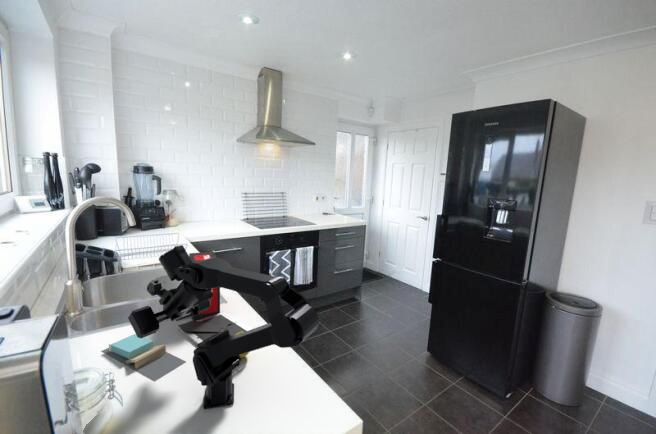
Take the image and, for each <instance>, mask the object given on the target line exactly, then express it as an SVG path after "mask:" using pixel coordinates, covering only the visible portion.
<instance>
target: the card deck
mask: <svg viewBox="0 0 656 434" xmlns="http://www.w3.org/2000/svg"><path fill="white" fill-rule="evenodd" d="M154 346H155V344H154V340H153V339H149V338H148V337H144V338H138V337H137V335H136V333H135V332H134V333H130V334H128V335H126V336H124V337H121V338H118V339H116V340H114V341H112V342H110V343H108V348H109V351H111V352H114V353H116V354H119V355H121V356H123V357H126V358H128V359H132V358H134V357H136V356H138V355H140V354H142V353H144V352H146V351H148V350H150V349H152V348H154Z"/></svg>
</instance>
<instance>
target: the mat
mask: <svg viewBox="0 0 656 434" xmlns="http://www.w3.org/2000/svg"><path fill="white" fill-rule="evenodd" d="M154 347H155V345H154ZM101 352H102V353H103V354H105V355H107V356H109V357H110V358H112V359H114V360H116V361H118V362H119V363H121V364H123V365H124V366H127V367H128V368H130V369H132V370H133V371H135V372H136V373H138V374H141V375H142V376H144V377H146V378H147V379H149V380H151V381H152V382H157V380H158V381H159V380H160V379H161V378H163V377H164V376H166V375H167V374H170V373H171V372H173V371H174V370H177V368H179V367H181V366H183V365H184V364H186V363H187V361H186V360H184V359H182V358H180V357H178V356H175V355H174V354H171V353H169V352H168V351H166V353H165V354H164V355H162V356H160V357H158V358H156V359H154V360H153V361H151V362H149V363H147V364H145V365H143V366H142V367H140V368H138V369H136V368H135V362H133V363H128V364H127V363H126V361H127V360H129V359H128V358H126V357H123V356H121V355H119V354H116V353H114V352H111V351H109V347H106V348H105V349H103V350H101Z"/></svg>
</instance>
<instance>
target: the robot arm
mask: <svg viewBox="0 0 656 434" xmlns="http://www.w3.org/2000/svg"><path fill="white" fill-rule="evenodd" d="M158 261H159V263H160V265H161V266H162V268H163V270H164V271H165V272H166V274H165V275H162V276H159V277H156V278H155V279H151V281H150V282H149V283H148V284H147V286H146V292H148V293H149V294H150V295H151V297H154V296H158V297H159V298H160V299H159V300H158V302H159V304H160V306H162V310H161V311H159V312H154V311H153V309H152V307H151V306H149V305H146V306H143V307H140V308H137V309H134V310H132V311H130V314H129V315H128V317H127V318H128V319H127V320H128V321H129V323H130V325H131V327H132V328H133V331H134V334H136V335H137V337H138V338H148V336H150V335H153V334H155V333H157V332H158V331H159V329H160V324H161V323H164V322H165V321H166V322H167V321H168V320H170V321H171V322H174V321H176V322H178V321H182V320H184V319H189V318H191V317H192V316H195V315H197V314H199V313H202V312H203V311H206V310H208V308H209V307H210V306H211V301H210V300H209V299H211V298H213V293H212V291H211V288H220V289H221V288H222V289H225V290H229V291H234V292H237V293H240V294H244V295H248V296H253V297H256V298H260V299H261V300H262V301H263V302H264V304H265V306H266V307H265V308H266V311H267V313H266V314H267V317H268V322H269V323H266V324H263V325H260V326H258V327H255V328H250V329H251V330H248V331H246V332H243V333H240V334H237V335H234V336H232V335H231V334H229V330H228V329H227V330H225V331H223V332H218V333H216V334H214V335H213V336H211V337H209V338H207V339H206V340H204V341H202V342H201V343H199V344H197V345H196V348H195V349H193V357H192V363H193V364H192V365H193V367H194V370H195V375H196V380H197V381H200V383H201V386H203V387H206V388H205V391H204V392H205V393H204V398H203V404H202V408H203V409H204V410H205V409H211V408H212V409H213V408H217V407H222V406H224V407H225V406H229V405H233V404H234V403H235V383H234V382H233V371H234V370H236V369H237V368H238V367H239V366H240V365H241V363H242V358H241V357H240V356H239V355H241V354H244V353H248V352H249V353H251V352H253V351H257V350H260V349H264V348H267V347H270V346H274V345H275V346H277V347H279V348H282V349H285V348H287V349H288V348H296V347H298V346H300V345H301V344H302V343H303V342H304V341H306V340H307V338H308V337H309V336H310V335H311V334H312V333H314V332H315V331H316V330H317V328H318V326H319V324H320V323H319V322H320V320H319V319H320V318H319V315H318V313H317V311H316V309H314V308H313V307H312V306H311V304H310V303H309V301H308V299H306V297H305V296H304V295H303V294H302V293H301V292H299V291H297V290H296V289H295V288H293V287H292V286H291V285H290V284H289V283H288V281H287V279H285V277H283V276H279V275H278V276H277V275H276V276H274V275H269V274H265V273H260V272H256V271H251V270H246V269H243V268H242V269H241V268H239V267H234V266H232V265H230V263H229V262H228V261H227V260H225V259H222V258H220V257H219V256H218V257H217V256H216V257H212V258H209V259H205V260H202V261H197V262H192V260H191V259H190V257H189V254H188V252H187V250H186V248H185V247H184V245H182V244H180V245H177V246H174V247H173V248H172V249H169V250H168V251H166V252H164V253H163V254H161V255H160V256H159V257H158ZM281 300H283V301H284V302H286V303H287V304H288V305H290V306H291V307H292V308H293V309H291V310H290V311H289V312H287V313H286V314H285V313H284V312H283V309H282V304H281ZM192 318H193V317H192ZM249 353H248V354H249Z"/></svg>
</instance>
